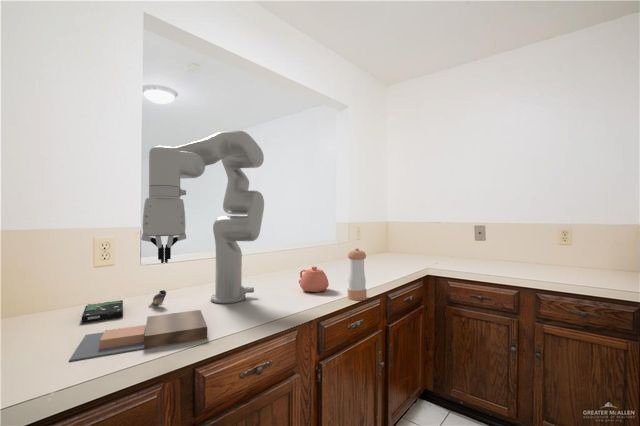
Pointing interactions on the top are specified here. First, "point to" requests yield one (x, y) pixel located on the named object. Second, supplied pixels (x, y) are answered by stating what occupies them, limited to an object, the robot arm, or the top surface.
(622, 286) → the top surface
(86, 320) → the disk drive
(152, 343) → the block
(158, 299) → the bird figurine
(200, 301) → the top surface
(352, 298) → the pepper shaker
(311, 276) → the sugar bowl
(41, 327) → the top surface
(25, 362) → the top surface
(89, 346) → the mat
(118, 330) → the block
